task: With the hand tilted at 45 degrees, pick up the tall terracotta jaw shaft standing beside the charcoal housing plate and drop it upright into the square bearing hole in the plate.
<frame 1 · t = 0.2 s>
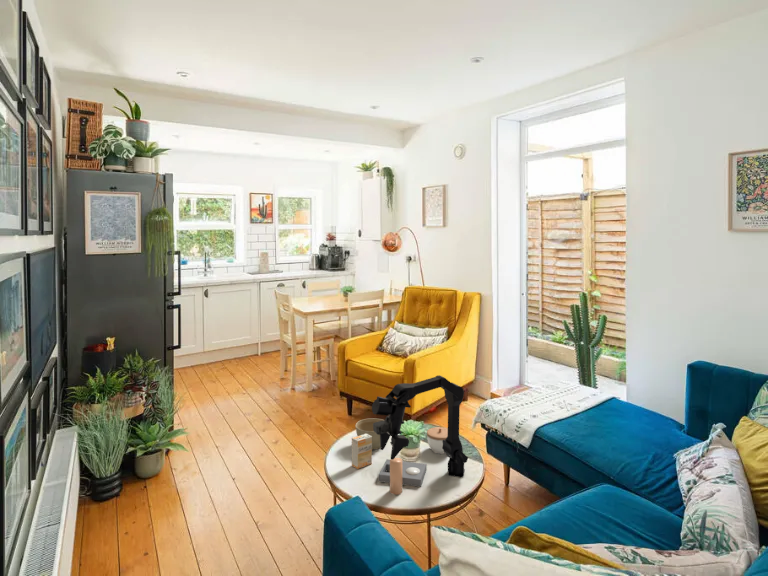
hand: (386, 454, 189), 15 cm above the table, tool tilted 15°, fingers open, 9 cm apart
housing plate: (403, 475, 203), on the table
lidded bowl: (439, 450, 227), on the table
jaw shaft: (396, 491, 190), on the table
supplement box: (361, 465, 213), on the table
planter bowl: (372, 446, 232), on the table
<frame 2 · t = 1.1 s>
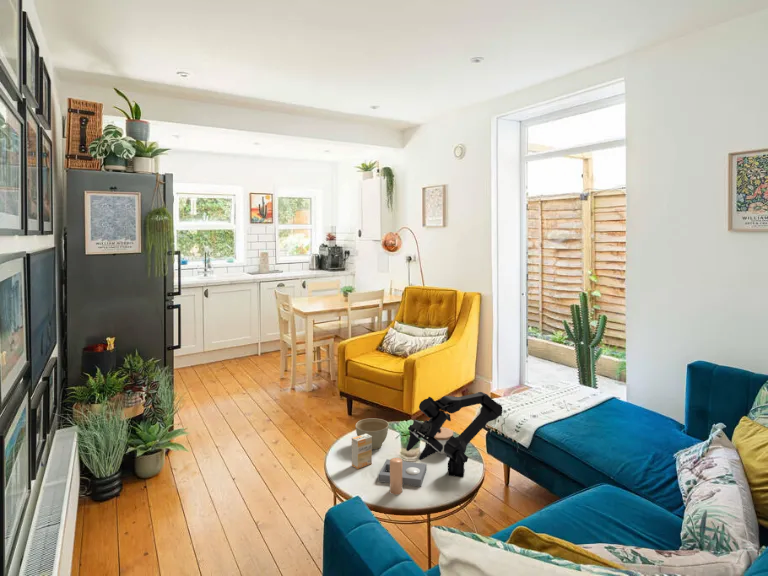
hand: (412, 455, 193), 13 cm above the table, tool tilted 45°, fingers open, 9 cm apart
nothing on the table moved.
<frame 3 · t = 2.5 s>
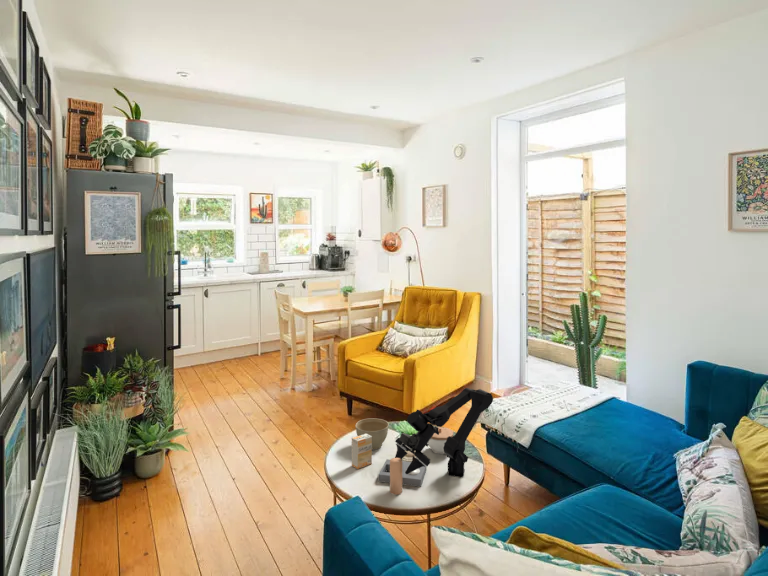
hand: (399, 468, 190), 9 cm above the table, tool tilted 45°, fingers open, 9 cm apart
nothing on the table moved.
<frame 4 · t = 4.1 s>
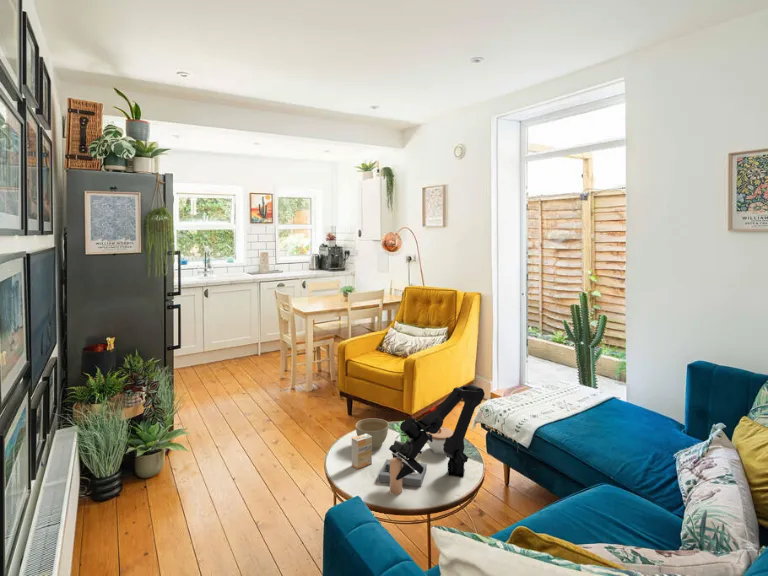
hand: (393, 476, 189), 7 cm above the table, tool tilted 45°, fingers closed on jaw shaft, 5 cm apart
jaw shaft: (396, 491, 190), on the table, touching gripper
everything else where it was.
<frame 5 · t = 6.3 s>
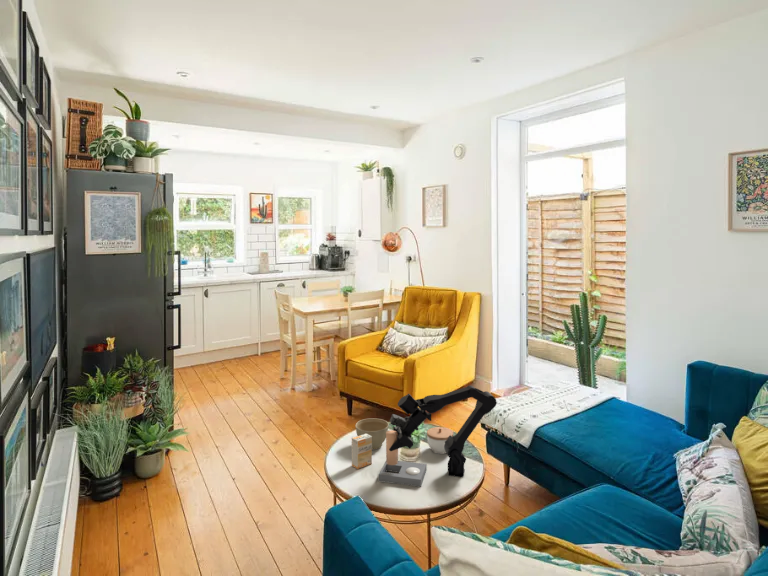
hand: (388, 447, 200), 13 cm above the table, tool tilted 45°, fingers closed on jaw shaft, 5 cm apart
jaw shaft: (392, 462, 200), point 7 cm above the table, touching gripper
everything else where it was.
when the fingers open (8 cm above the table, at t = 8.5 s): jaw shaft drops 1 cm, resting in housing plate.
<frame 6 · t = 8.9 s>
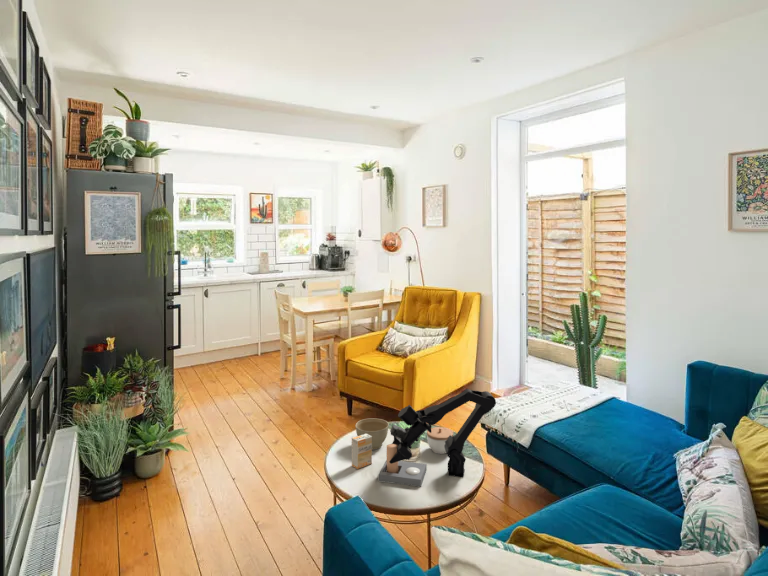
hand: (389, 457, 202), 8 cm above the table, tool tilted 45°, fingers open, 9 cm apart
jaw shaft: (392, 475, 203), resting in housing plate
everything else where it was.
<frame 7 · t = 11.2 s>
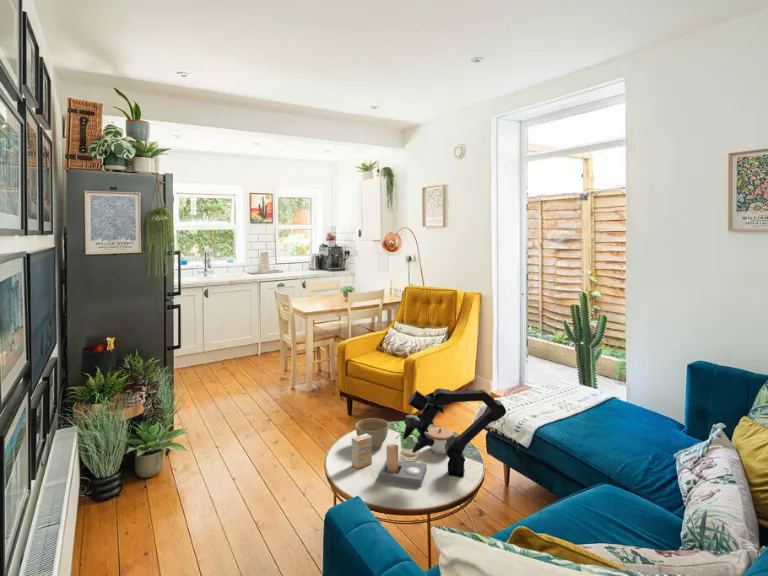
hand: (408, 445, 203), 13 cm above the table, tool tilted 30°, fingers open, 9 cm apart
nothing on the table moved.
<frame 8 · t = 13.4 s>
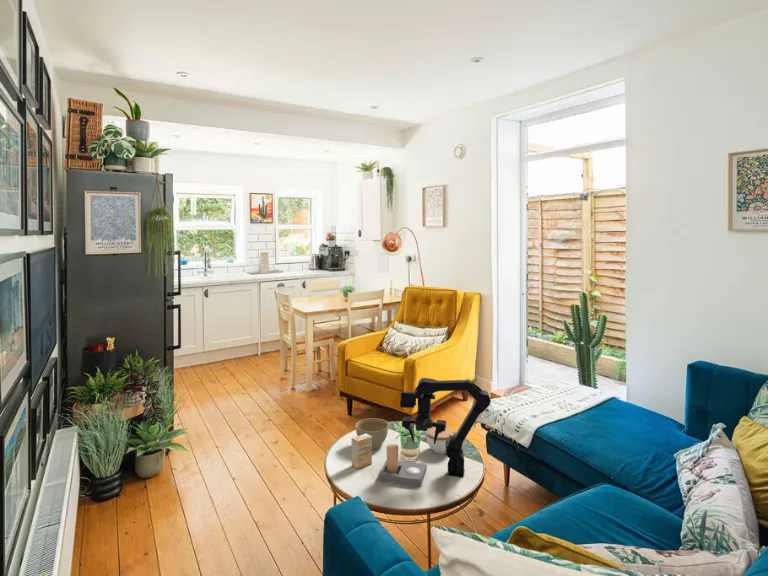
hand: (424, 442, 205), 13 cm above the table, tool pointing down, fingers open, 9 cm apart
nothing on the table moved.
at the end: jaw shaft 0.1 cm from the target spot on the housing plate, point 0.0 cm above the housing plate's base; jaw shaft tilted 0°; the gripper is holding nothing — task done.
